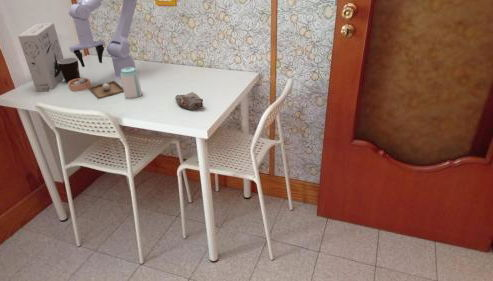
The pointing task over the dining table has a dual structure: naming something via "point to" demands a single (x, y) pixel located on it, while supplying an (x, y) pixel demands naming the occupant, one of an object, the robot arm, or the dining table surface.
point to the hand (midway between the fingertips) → (92, 64)
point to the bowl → (79, 87)
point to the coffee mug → (69, 68)
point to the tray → (101, 93)
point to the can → (130, 82)
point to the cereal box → (42, 55)
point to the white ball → (106, 87)
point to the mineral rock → (189, 101)
